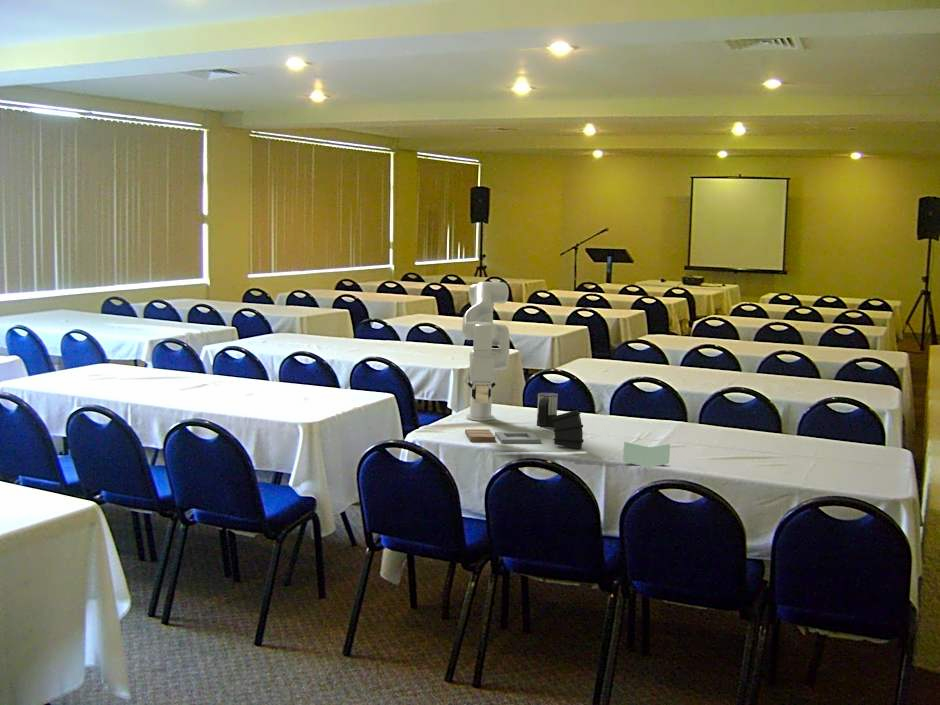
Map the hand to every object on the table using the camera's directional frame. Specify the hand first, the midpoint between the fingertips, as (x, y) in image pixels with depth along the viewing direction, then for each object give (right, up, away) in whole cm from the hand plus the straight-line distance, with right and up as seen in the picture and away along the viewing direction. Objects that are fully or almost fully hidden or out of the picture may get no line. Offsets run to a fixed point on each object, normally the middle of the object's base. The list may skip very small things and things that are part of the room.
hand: (481, 398), depth 413 cm
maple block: (0, -2, 0) cm, 2 cm away
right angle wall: (+61, -23, -34) cm, 74 cm away
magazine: (+36, -20, -14) cm, 44 cm away
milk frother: (+32, -15, +27) cm, 44 cm away
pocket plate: (+15, -17, +1) cm, 22 cm away
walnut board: (0, -16, +2) cm, 16 cm away
